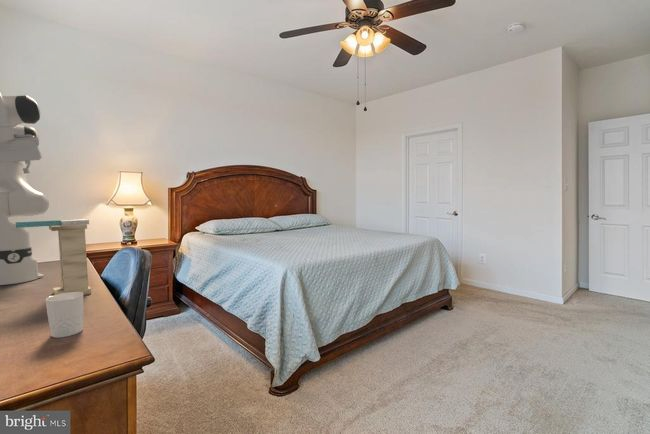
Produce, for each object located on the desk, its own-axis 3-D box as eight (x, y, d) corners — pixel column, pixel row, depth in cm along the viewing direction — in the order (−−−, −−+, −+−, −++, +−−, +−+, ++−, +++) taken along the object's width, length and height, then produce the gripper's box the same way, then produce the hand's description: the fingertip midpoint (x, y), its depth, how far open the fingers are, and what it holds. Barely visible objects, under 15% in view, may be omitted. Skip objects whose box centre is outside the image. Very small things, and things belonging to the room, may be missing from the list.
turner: (16, 228, 109) (15, 223, 109) (15, 226, 115) (15, 221, 115) (89, 224, 123) (88, 219, 123) (85, 223, 129) (85, 218, 129)
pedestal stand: (53, 292, 124) (48, 224, 122) (85, 287, 131) (81, 222, 129) (56, 299, 116) (51, 226, 114) (91, 293, 123) (86, 224, 121)
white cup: (92, 328, 90) (90, 293, 89) (61, 340, 83) (58, 302, 82) (72, 325, 93) (70, 290, 92) (40, 336, 85) (38, 299, 85)
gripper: (37, 133, 121) (47, 170, 126) (-42, 135, 110) (-28, 176, 115) (35, 134, 116) (46, 173, 121) (-48, 137, 105) (-33, 179, 110)
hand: (9, 174), depth 118 cm, fingers open, 8 cm apart
